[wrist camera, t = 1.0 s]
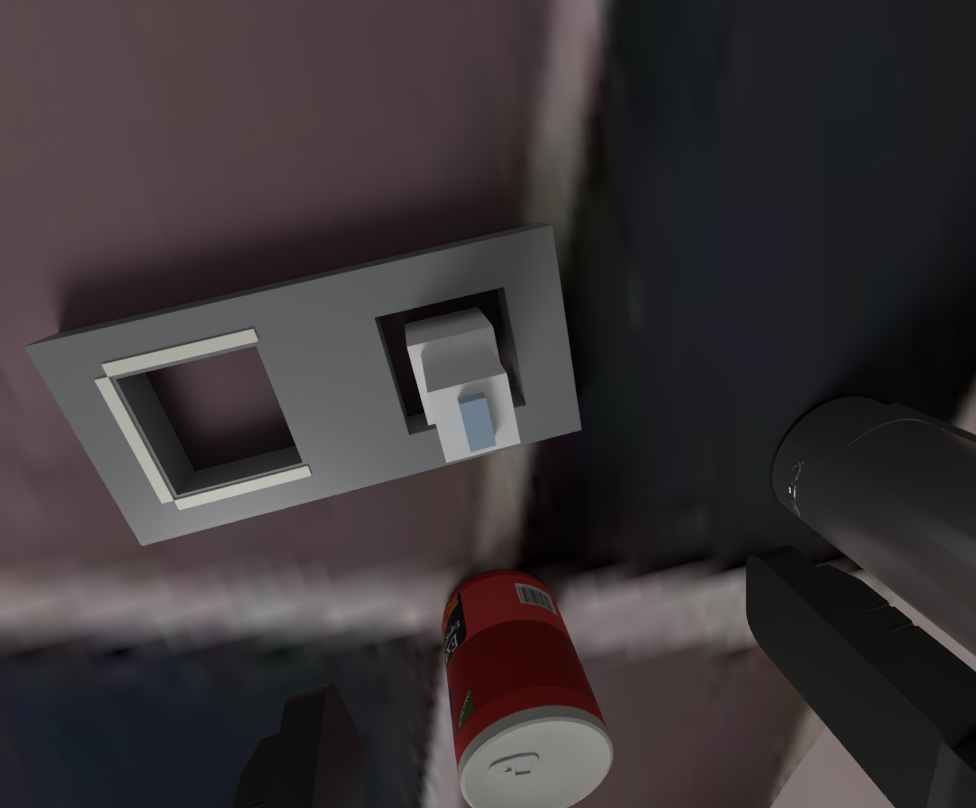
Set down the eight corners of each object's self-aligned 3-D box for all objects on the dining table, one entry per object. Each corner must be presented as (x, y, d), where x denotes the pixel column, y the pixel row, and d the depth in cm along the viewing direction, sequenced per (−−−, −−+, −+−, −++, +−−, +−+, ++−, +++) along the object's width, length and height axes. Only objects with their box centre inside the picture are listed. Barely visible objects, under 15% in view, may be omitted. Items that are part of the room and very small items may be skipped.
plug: (477, 306, 28) (521, 361, 18) (491, 374, 29) (538, 457, 20) (404, 324, 27) (410, 389, 18) (423, 392, 29) (438, 484, 19)
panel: (538, 222, 26) (552, 224, 24) (567, 412, 31) (581, 430, 28) (58, 332, 25) (22, 347, 22) (161, 518, 29) (140, 547, 26)
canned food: (429, 582, 34) (445, 745, 24) (546, 552, 34) (609, 698, 24) (452, 664, 37) (474, 840, 27) (559, 635, 37) (620, 795, 27)
